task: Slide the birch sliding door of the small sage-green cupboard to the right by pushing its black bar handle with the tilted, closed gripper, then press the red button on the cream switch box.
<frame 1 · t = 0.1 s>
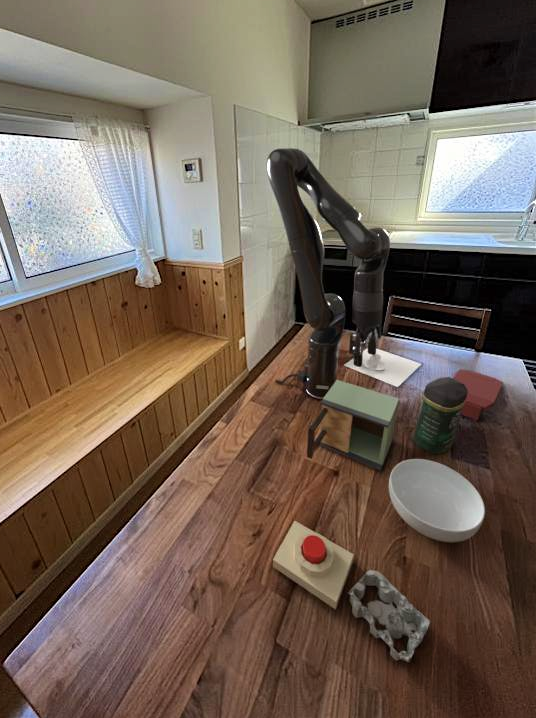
hand: (364, 359, 95), 17 cm above the table, tool pointing down, fingers open, 8 cm apart
egg carton: (384, 619, 55), on the table
coffee jar: (432, 443, 88), on the table
plastic cup: (326, 358, 130), on the table
cupboard: (355, 441, 90), on the table
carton: (471, 395, 106), on the table
cereal bowl: (428, 514, 70), on the table
door: (328, 439, 82), point 7 cm above the table, slide at 0.0 cm
button: (314, 549, 61), point 4 cm above the table, slide at 0.1 cm
switch box: (312, 564, 63), on the table
teacup and saucer: (382, 365, 124), on the table
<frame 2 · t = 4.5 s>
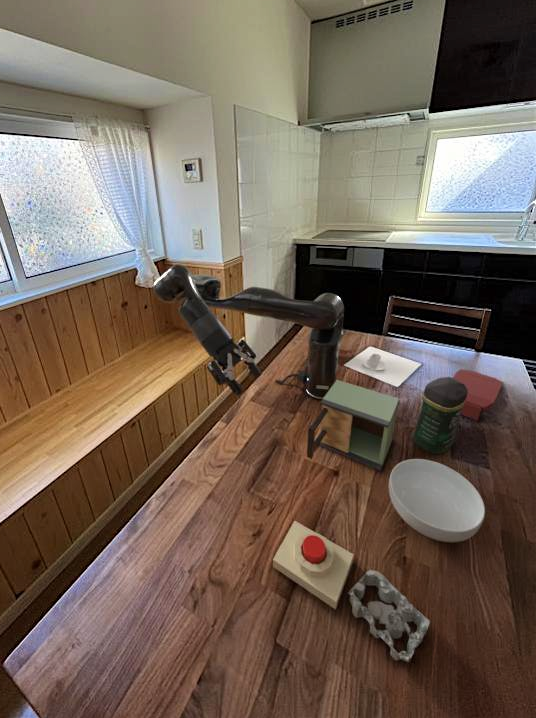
hand: (250, 384, 84), 19 cm above the table, tool tilted 45°, fingers open, 8 cm apart
nothing on the table moved.
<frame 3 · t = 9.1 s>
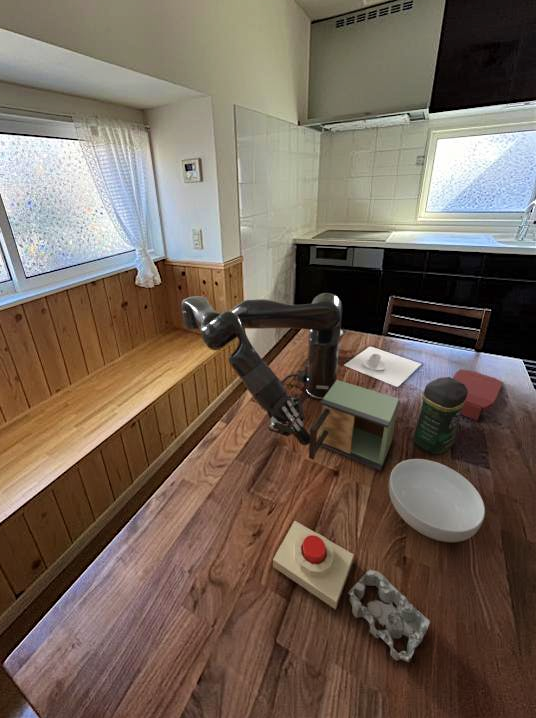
hand: (308, 442, 80), 8 cm above the table, tool tilted 45°, fingers closed
door: (330, 440, 81), point 7 cm above the table, slide at 0.5 cm
everything else where it was.
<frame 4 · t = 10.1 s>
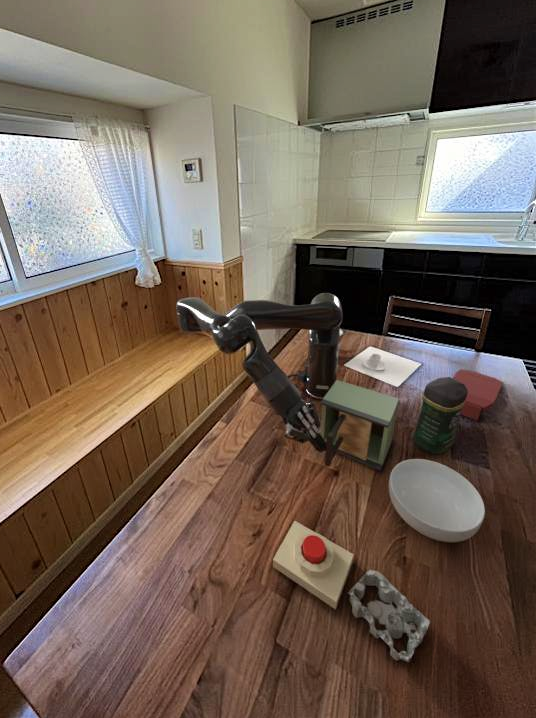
hand: (324, 449, 78), 8 cm above the table, tool tilted 45°, fingers closed
door: (346, 447, 79), point 7 cm above the table, slide at 4.5 cm, touching gripper
everything else where it was.
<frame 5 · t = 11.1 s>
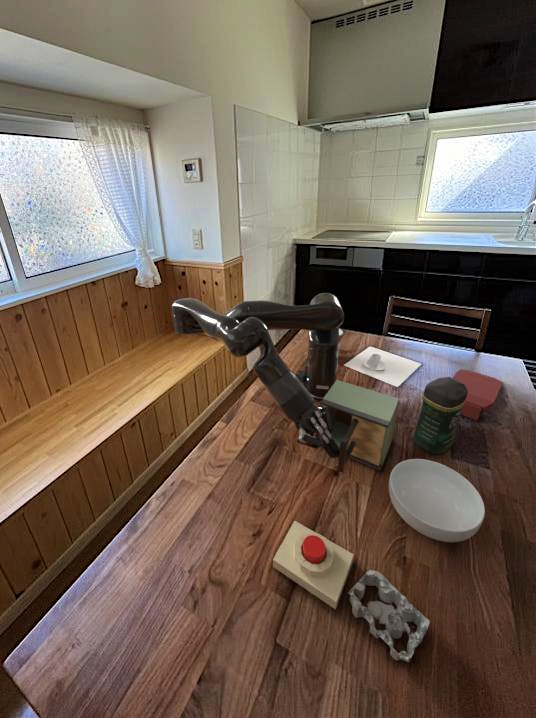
hand: (337, 455, 76), 8 cm above the table, tool tilted 45°, fingers closed
door: (360, 452, 77), point 7 cm above the table, slide at 7.6 cm, touching gripper
everything else where it was.
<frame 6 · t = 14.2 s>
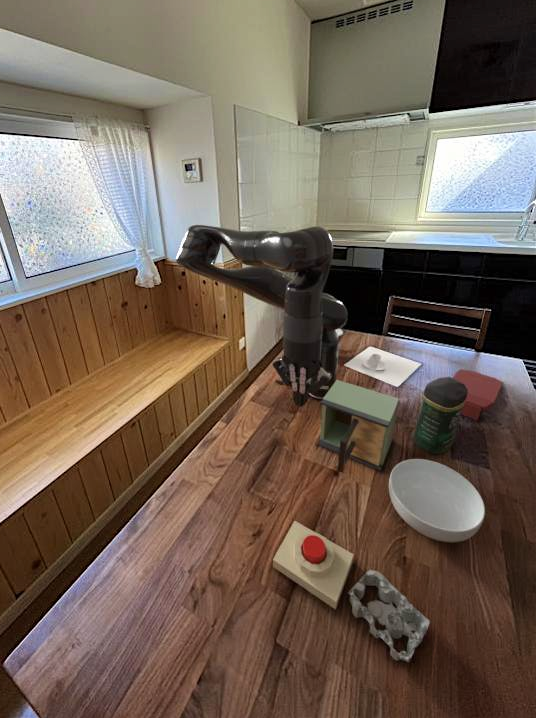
hand: (300, 403, 73), 21 cm above the table, tool pointing down, fingers closed
door: (360, 452, 77), point 7 cm above the table, slide at 7.5 cm
everything else where it was.
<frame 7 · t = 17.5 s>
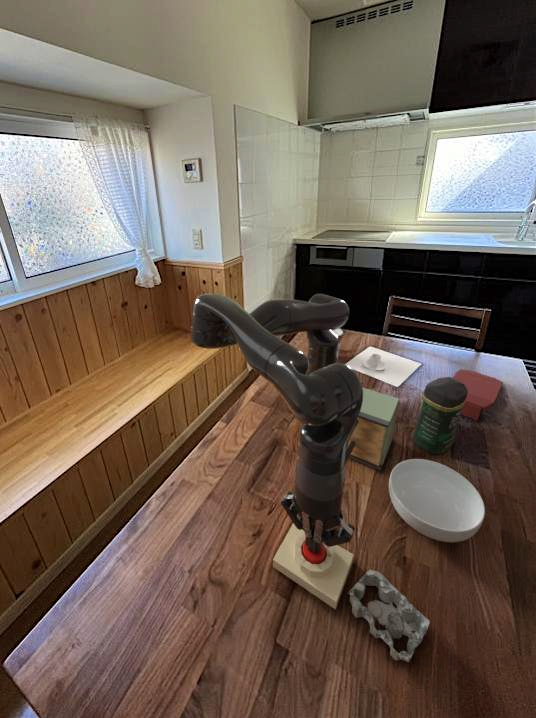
hand: (313, 547, 61), 5 cm above the table, tool pointing down, fingers closed
button: (313, 550, 61), point 4 cm above the table, slide at -0.4 cm, touching gripper
everything else where it was.
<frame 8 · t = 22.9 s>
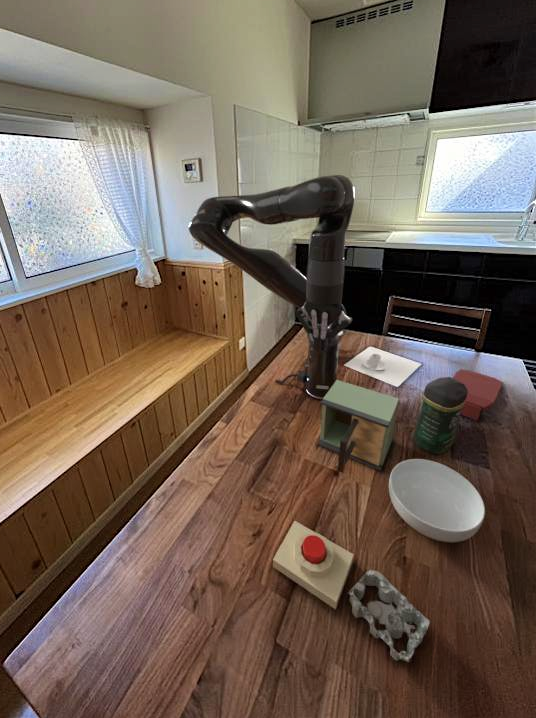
hand: (320, 351, 77), 29 cm above the table, tool pointing down, fingers closed
button: (314, 549, 61), point 4 cm above the table, slide at 0.1 cm
everything else where it was.
at the end: door slide at 7.5 cm; button pushed in 1.1 cm at the most during the clip, back to where it started at the end; button slide at 0.1 cm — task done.
